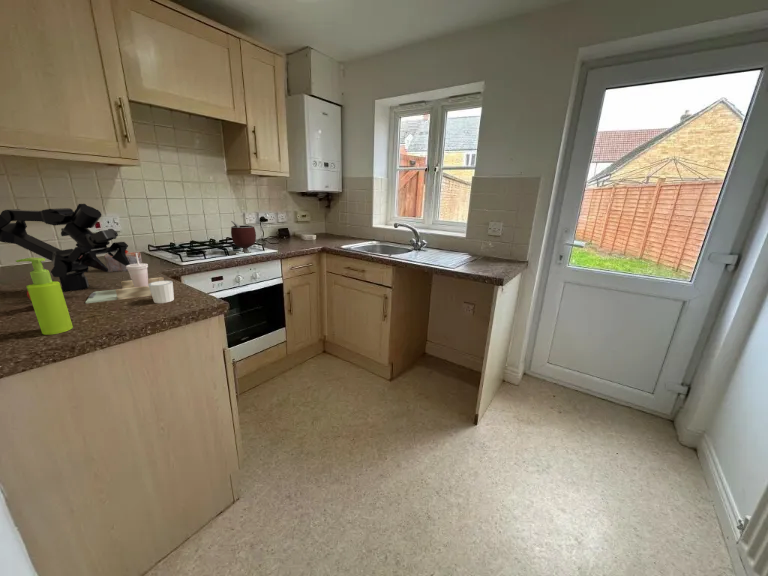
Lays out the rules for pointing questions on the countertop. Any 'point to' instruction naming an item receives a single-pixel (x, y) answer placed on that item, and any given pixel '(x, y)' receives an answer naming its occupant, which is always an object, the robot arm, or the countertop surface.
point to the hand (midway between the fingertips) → (119, 268)
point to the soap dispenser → (47, 300)
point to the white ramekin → (162, 291)
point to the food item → (118, 266)
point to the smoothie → (138, 273)
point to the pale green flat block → (102, 296)
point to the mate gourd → (243, 236)
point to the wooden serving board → (135, 289)
